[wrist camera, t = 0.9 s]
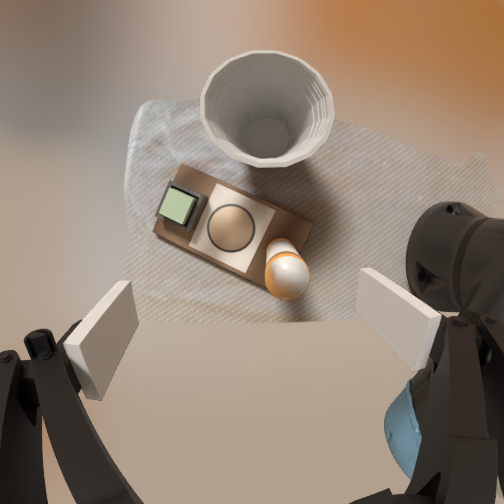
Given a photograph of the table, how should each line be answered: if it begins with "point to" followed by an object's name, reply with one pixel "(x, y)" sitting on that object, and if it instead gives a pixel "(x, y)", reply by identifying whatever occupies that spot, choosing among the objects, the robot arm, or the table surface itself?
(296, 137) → the plastic cup
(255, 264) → the board
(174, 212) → the button
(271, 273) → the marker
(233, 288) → the table surface
